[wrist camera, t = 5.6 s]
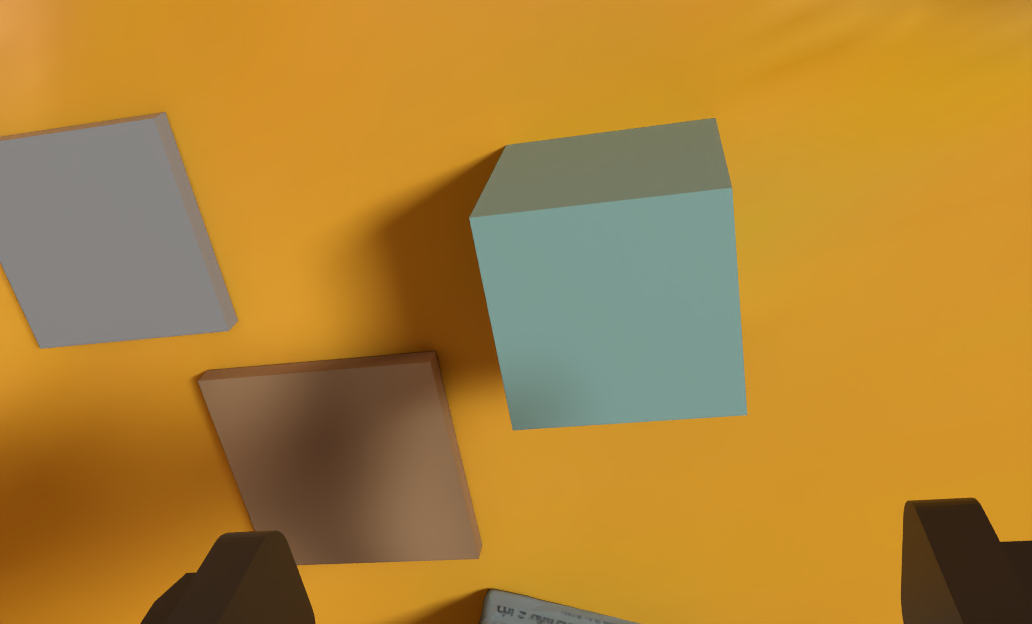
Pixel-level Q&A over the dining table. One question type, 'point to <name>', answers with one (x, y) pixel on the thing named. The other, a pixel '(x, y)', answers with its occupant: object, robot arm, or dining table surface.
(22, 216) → the pad
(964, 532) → the robot arm
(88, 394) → the dining table surface
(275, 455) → the pad
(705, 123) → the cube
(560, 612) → the beverage carton
